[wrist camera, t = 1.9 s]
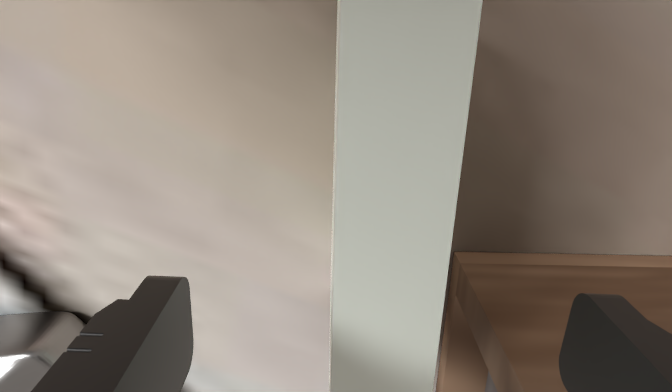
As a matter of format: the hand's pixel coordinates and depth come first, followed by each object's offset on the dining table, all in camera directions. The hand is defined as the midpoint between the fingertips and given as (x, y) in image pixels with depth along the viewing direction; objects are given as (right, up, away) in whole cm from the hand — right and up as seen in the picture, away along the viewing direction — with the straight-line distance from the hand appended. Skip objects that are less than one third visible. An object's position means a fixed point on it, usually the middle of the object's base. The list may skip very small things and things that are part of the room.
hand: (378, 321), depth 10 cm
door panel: (0, +4, +9) cm, 10 cm away
